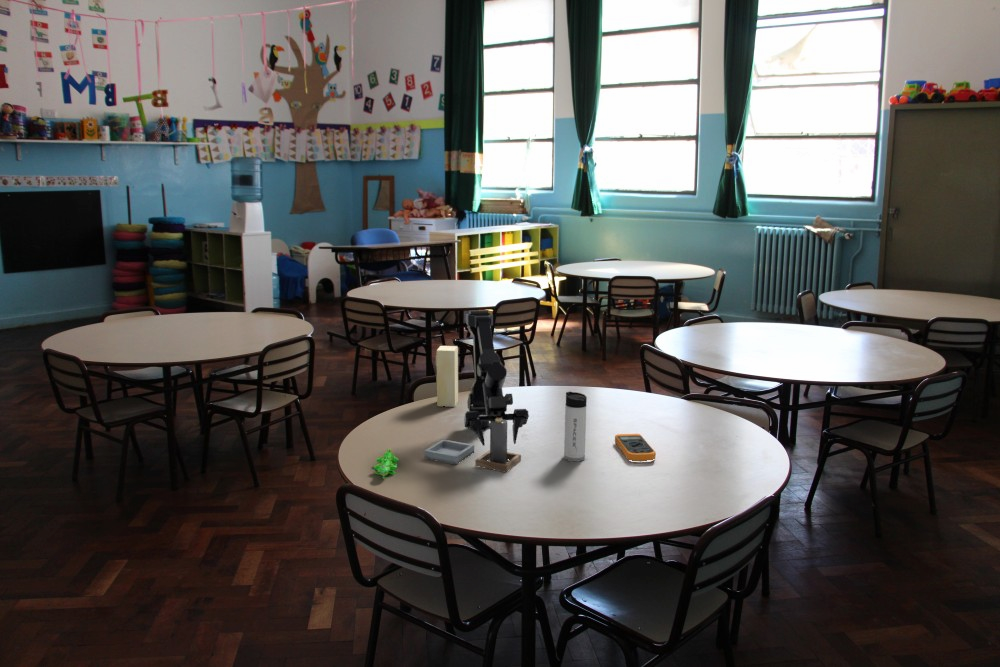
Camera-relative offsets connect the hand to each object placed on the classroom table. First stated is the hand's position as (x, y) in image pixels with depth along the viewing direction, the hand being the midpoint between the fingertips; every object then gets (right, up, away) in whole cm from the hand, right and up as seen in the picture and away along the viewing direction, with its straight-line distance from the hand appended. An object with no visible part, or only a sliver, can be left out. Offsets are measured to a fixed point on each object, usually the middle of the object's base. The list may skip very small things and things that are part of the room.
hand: (499, 444), depth 229 cm
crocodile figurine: (-33, -7, -2) cm, 33 cm away
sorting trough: (-15, -5, +9) cm, 18 cm away
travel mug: (+22, -5, +8) cm, 25 cm away
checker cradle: (0, -6, +3) cm, 7 cm away
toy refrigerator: (-19, +6, +60) cm, 63 cm away
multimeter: (+42, -5, +13) cm, 44 cm away
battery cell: (0, -6, +3) cm, 7 cm away
